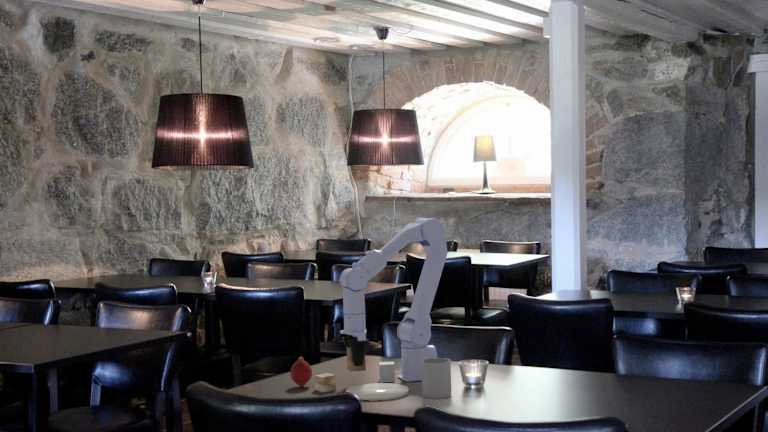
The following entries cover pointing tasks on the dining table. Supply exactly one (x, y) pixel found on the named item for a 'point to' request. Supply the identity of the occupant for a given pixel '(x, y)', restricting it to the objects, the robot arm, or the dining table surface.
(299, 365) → the onion
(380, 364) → the grey block
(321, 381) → the oak block
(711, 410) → the dining table surface
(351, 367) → the walnut block
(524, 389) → the dining table surface
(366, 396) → the plate
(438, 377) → the cup
